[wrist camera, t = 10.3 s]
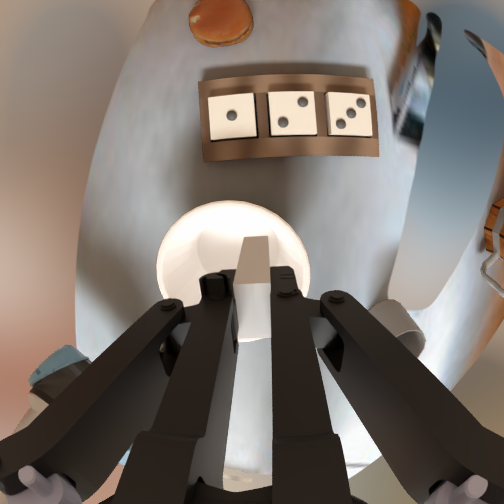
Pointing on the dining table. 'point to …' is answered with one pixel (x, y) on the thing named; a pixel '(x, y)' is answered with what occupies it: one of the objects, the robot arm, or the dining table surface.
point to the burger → (220, 22)
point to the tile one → (232, 117)
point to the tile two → (292, 113)
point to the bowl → (223, 247)
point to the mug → (494, 241)
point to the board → (264, 144)
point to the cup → (400, 325)
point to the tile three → (348, 114)
